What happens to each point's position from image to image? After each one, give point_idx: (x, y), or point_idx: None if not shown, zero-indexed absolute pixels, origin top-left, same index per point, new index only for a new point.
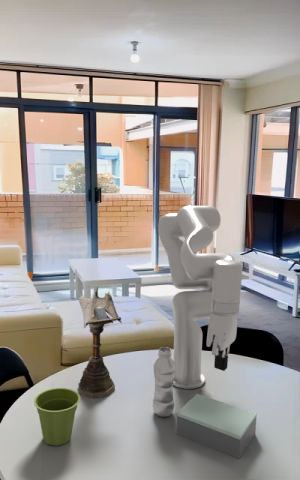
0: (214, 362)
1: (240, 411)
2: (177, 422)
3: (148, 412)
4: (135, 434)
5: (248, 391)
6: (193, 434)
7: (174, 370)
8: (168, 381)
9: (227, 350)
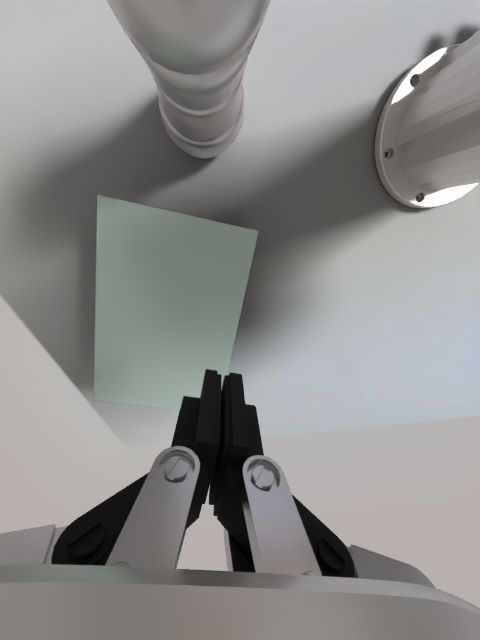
0: (203, 387)
1: None
2: None
3: None
4: (42, 61)
5: (398, 335)
6: None
7: (185, 68)
8: (152, 71)
9: (229, 568)
